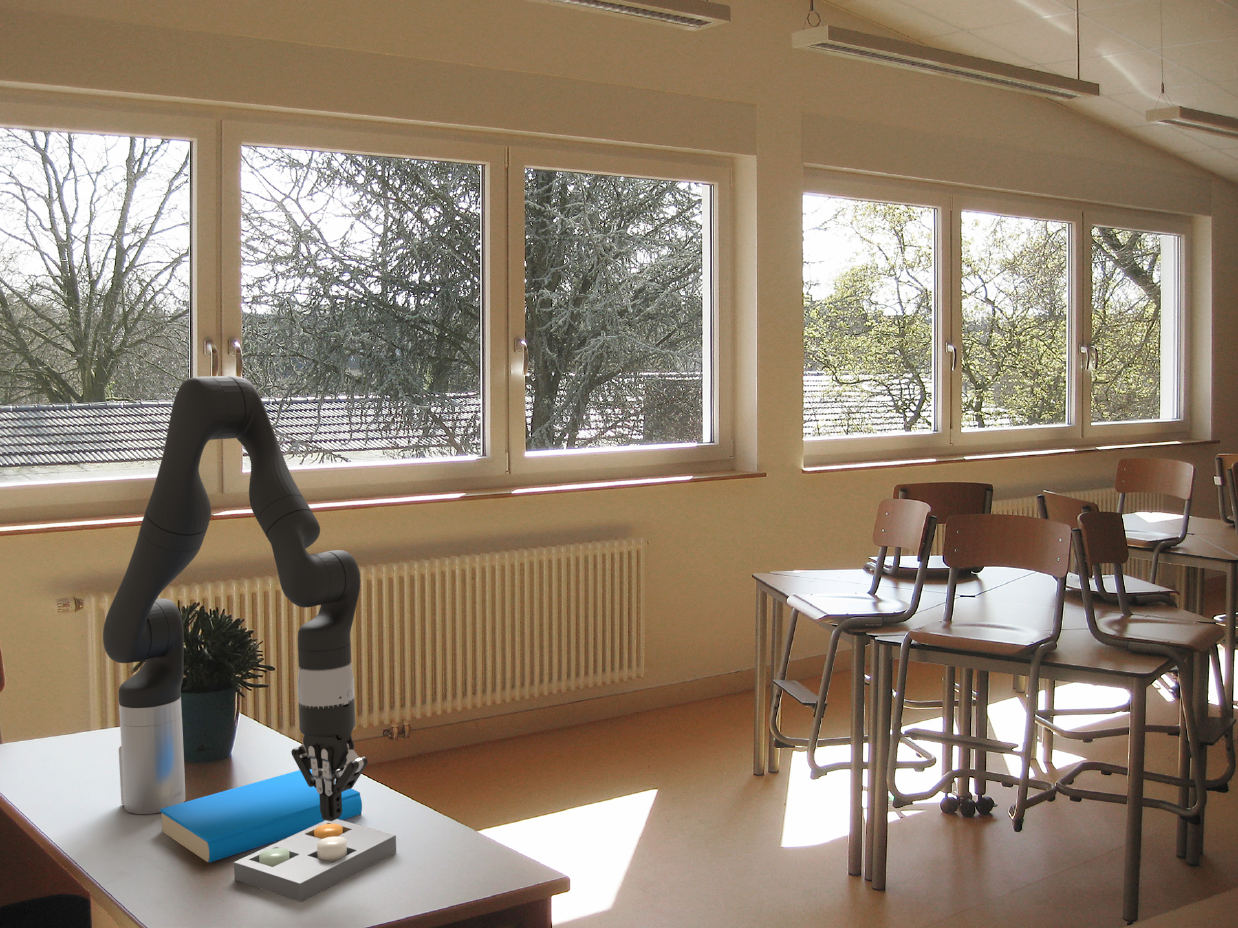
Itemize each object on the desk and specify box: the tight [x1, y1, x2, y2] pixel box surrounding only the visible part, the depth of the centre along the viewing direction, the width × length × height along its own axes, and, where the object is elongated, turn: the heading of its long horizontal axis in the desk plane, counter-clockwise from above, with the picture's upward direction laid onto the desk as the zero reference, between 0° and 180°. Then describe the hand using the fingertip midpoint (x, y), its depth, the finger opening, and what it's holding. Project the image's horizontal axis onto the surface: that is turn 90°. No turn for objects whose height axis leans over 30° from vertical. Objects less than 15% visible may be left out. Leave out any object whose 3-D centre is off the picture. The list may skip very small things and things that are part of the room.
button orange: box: [314, 824, 343, 839], centre depth 166 cm, size 4×4×2 cm
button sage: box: [259, 848, 290, 867], centre depth 157 cm, size 4×4×2 cm
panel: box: [233, 819, 397, 902], centre depth 160 cm, size 13×18×2 cm
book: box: [159, 769, 363, 864], centre depth 176 cm, size 17×4×25 cm
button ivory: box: [317, 837, 347, 863], centre depth 158 cm, size 4×4×2 cm
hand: (331, 818), depth 158 cm, fingers closed
